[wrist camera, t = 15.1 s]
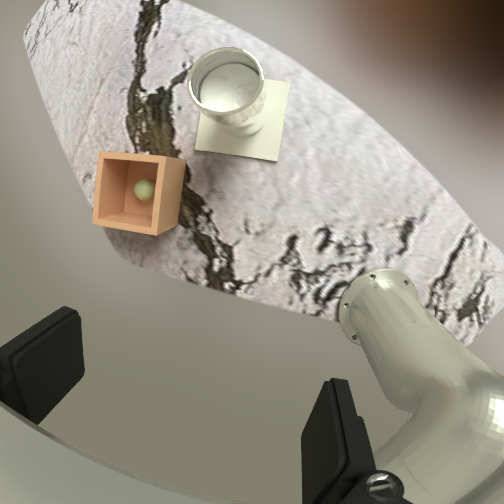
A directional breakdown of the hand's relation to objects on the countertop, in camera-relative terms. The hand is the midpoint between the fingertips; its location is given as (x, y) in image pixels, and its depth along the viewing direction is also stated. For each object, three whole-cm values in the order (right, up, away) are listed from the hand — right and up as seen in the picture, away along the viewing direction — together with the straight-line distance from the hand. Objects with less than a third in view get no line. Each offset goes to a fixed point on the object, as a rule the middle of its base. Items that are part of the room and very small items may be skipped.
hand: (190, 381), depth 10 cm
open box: (-12, +13, +31) cm, 36 cm away
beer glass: (+1, +22, +27) cm, 35 cm away
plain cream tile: (+1, +22, +28) cm, 36 cm away
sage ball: (-12, +13, +29) cm, 34 cm away
